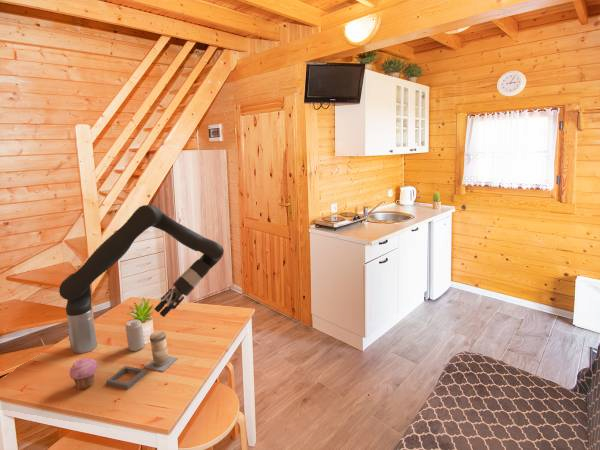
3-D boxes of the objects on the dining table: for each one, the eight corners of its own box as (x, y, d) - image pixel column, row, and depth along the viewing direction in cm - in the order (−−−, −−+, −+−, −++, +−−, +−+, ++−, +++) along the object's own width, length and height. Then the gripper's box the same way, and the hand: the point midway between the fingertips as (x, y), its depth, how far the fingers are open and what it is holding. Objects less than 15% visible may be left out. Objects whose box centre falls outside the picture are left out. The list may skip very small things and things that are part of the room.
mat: (144, 368, 144) (144, 367, 144) (159, 355, 152) (159, 354, 152) (163, 371, 141) (163, 370, 141) (177, 358, 150) (177, 357, 150)
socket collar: (106, 384, 135) (106, 380, 134) (126, 369, 143) (125, 365, 143) (128, 389, 132) (127, 385, 131) (146, 373, 141) (146, 369, 140)
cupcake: (75, 380, 137) (70, 356, 135) (101, 375, 140) (97, 351, 138) (70, 395, 129) (65, 370, 127) (97, 389, 132) (93, 364, 130)
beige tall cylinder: (150, 365, 145) (146, 337, 142) (160, 357, 151) (156, 330, 148) (162, 367, 143) (158, 339, 141) (172, 359, 149) (168, 332, 146)
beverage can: (129, 353, 155) (125, 327, 152) (128, 346, 160) (124, 321, 158) (145, 349, 157) (142, 323, 155) (144, 342, 163) (140, 317, 160)
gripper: (176, 273, 156) (147, 303, 150) (186, 278, 145) (156, 311, 138) (188, 285, 159) (161, 315, 153) (199, 290, 148) (170, 323, 141)
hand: (158, 313), depth 146 cm, fingers open, 8 cm apart
